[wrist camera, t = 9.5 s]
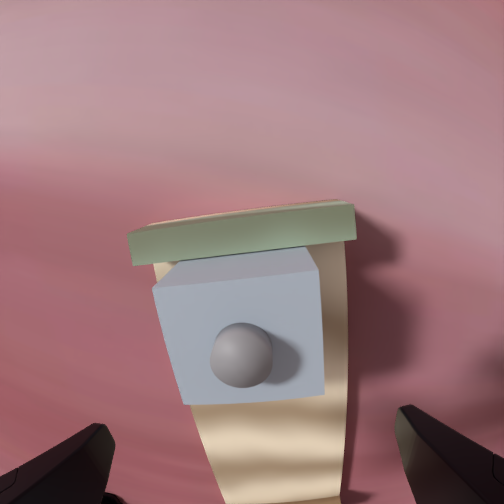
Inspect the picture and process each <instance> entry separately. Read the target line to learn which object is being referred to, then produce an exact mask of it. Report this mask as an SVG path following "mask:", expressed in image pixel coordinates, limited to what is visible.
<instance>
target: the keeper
mask: <svg viewBox="0 0 504 504" xmlns="http://www.w3.org/2000/svg"><path fill="white" fill-rule="evenodd" d="M152 291H153V295H154V300H155V304H156V308H157V312H158V316H159V320H160V324H161V328H162V332H163V336H164V339H165V343H166V347H167V350H168V354H169V357H170V361H171V364H172V368H173V371H174V375H175V378H176V381H177V384H178V388H179V391H180V394H181V397H182V400H183V403H184V405H207V404H235V403H252V402H265V401H277V400H287V399H296V398H304V397H312V396H319V395H325V389H324V354H323V331H322V312H321V296H320V281H319V270H318V268H317V266H316V264H315V263H314V261H313V259H312V257H311V255H310V254H309V252H308V250H307V248H306V247H305V246H297V247H288V248H280V249H272V250H263V251H255V252H247V253H238V254H230V255H221V256H213V257H205V258H196V259H188V260H180V261H179V262H178V263H177V264H176V265H175V266H174V267H173V268H172V269H171V270H170V271H169V272H168V273H167V274H166V275H165V276H164V277H163V278H162V279H161V280H160V281H159V282H158V283H157V284H156V285H155V286H154V287H153V288H152Z"/></svg>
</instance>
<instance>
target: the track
mask: <svg viewBox="0 0 504 504" xmlns="http://www.w3.org/2000/svg"><path fill="white" fill-rule="evenodd" d="M127 238H128V244H129V249H130V254H131V259H132V263H133V266H138V265H146V264H154V269H155V274H156V279H157V283H158V282H159V281H160V280H161V279H162V278H163V277H164V276H165V275H166V274H167V273H168V272H169V271H170V270H171V269H172V268H173V267H174V266H175V265H176V264H177V263H178V262H179V261H180V260H188V259H196V258H205V257H213V256H221V255H230V254H238V253H247V252H255V251H263V250H272V249H280V248H288V247H297V246H305V247H306V248H307V250H308V252H309V254H310V255H311V257H312V259H313V261H314V263H315V264H316V266H317V268H318V270H319V281H320V296H321V312H322V331H323V354H324V389H325V395H319V396H312V397H304V398H296V399H287V400H277V401H265V402H252V403H235V404H207V405H190V407H191V410H192V413H193V417H194V420H195V423H196V426H197V429H198V431H199V434H200V437H201V440H202V443H203V446H204V449H205V451H206V454H207V457H208V460H209V462H210V465H211V468H212V470H213V473H214V475H215V478H216V480H217V483H218V486H219V488H220V490H221V493H222V495H223V498H224V500H225V503H226V504H341V501H340V496H339V495H340V487H341V478H342V468H343V456H344V444H345V429H346V411H347V385H348V307H347V280H346V261H345V245H344V241H347V240H356V239H357V236H356V222H355V210H354V204H351V203H347V202H344V201H341V200H337V199H334V200H324V201H315V202H306V203H297V204H288V205H279V206H271V207H263V208H255V209H247V210H240V211H232V212H225V213H217V214H210V215H203V216H196V217H189V218H183V219H176V220H169V221H163V222H157V223H152V224H149V225H147V226H145V227H142V228H140V229H137V230H135V231H132V232H130V233H128V234H127Z"/></svg>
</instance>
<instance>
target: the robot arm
mask: <svg viewBox="0 0 504 504" xmlns="http://www.w3.org/2000/svg"><path fill="white" fill-rule="evenodd" d="M395 435H396V439H397V443H398V446H399V450H400V454H401V458H402V463H403V467H404V471H405V474H406V477H407V479H408V482H409V485H410V487H411V490H412V493H413V495H414V498H415V501H416V503H417V504H504V458H502V457H501V456H499V455H497V454H493V452H491V451H490V450H488V449H486V448H484V447H483V446H481V445H479V444H477V443H476V442H474V441H472V440H470V439H469V438H467V437H465V436H464V435H462V434H460V433H459V432H457V431H455V430H453V429H452V428H450V427H448V426H447V425H445V424H443V423H442V422H440V421H438V420H437V419H435V418H433V417H432V416H430V415H428V414H427V413H425V412H424V411H422V410H420V409H419V408H417V407H415V406H414V405H411V404H410V405H406V406H402V407H399V408H398V411H397V416H396V421H395ZM114 451H115V441H114V439H113V437H112V435H111V433H110V431H109V429H108V427H107V426H106V425H105V424H100V423H93V424H91V425H90V426H88V427H86V428H85V429H83V430H81V431H80V432H78V433H76V434H75V435H73V436H71V437H70V438H68V439H66V440H65V441H63V442H61V443H60V444H58V445H56V446H55V447H53V448H51V449H49V450H48V451H46V452H44V453H42V454H41V455H39V456H37V457H35V458H34V459H32V460H30V461H28V462H26V463H25V464H23V465H21V466H19V468H15V469H14V470H12V471H10V472H8V473H6V474H4V475H2V476H0V504H121V503H120V501H119V500H118V499H117V497H116V496H114V495H112V494H108V493H104V492H105V489H106V485H107V482H108V478H109V473H110V469H111V464H112V460H113V455H114Z"/></svg>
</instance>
